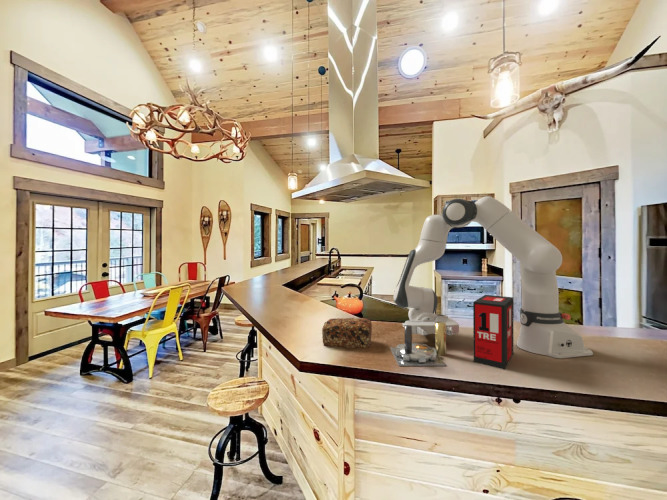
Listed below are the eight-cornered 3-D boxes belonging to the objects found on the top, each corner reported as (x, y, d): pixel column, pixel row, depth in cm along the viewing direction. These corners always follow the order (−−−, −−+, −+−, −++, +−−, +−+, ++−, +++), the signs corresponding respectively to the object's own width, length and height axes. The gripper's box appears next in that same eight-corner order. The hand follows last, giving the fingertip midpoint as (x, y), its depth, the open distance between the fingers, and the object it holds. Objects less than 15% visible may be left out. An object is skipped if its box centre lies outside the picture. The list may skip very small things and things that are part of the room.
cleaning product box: (504, 369, 87) (504, 305, 87) (473, 362, 93) (473, 301, 93) (513, 353, 100) (513, 297, 99) (485, 347, 105) (485, 294, 105)
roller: (443, 351, 102) (443, 321, 102) (447, 355, 98) (447, 324, 98) (433, 352, 102) (433, 321, 102) (437, 355, 98) (437, 324, 98)
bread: (372, 340, 115) (372, 316, 115) (369, 350, 105) (369, 323, 105) (328, 337, 120) (328, 314, 119) (321, 346, 109) (321, 321, 109)
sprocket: (391, 347, 104) (391, 318, 104) (428, 346, 105) (427, 318, 105) (401, 362, 91) (401, 329, 91) (443, 361, 91) (443, 328, 91)
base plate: (430, 348, 105) (430, 347, 105) (445, 365, 90) (445, 364, 90) (390, 348, 105) (390, 347, 105) (398, 366, 90) (398, 364, 90)
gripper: (400, 315, 117) (409, 325, 103) (450, 315, 117) (465, 324, 103) (401, 330, 117) (409, 342, 103) (450, 330, 117) (465, 341, 103)
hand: (437, 333), depth 103 cm, fingers open, 8 cm apart
